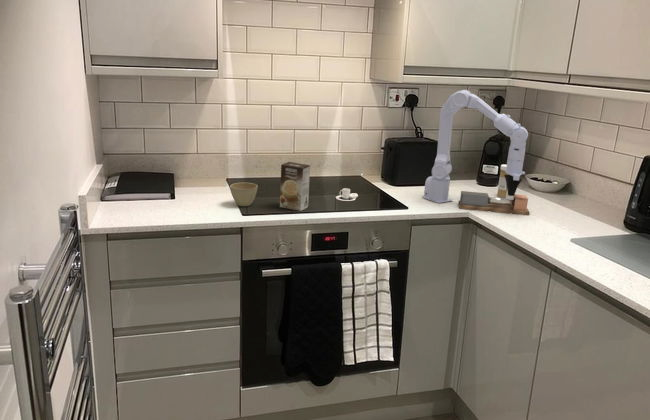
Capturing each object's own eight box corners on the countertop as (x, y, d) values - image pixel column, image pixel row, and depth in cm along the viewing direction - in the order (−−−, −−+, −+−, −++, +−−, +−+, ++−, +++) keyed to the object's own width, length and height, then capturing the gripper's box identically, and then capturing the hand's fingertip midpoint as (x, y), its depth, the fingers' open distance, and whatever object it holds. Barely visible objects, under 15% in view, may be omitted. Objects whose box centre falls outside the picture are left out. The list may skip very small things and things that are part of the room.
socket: (513, 209, 202) (515, 197, 201) (511, 206, 207) (513, 194, 206) (526, 210, 202) (528, 198, 200) (523, 207, 207) (525, 195, 205)
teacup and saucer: (357, 197, 216) (358, 187, 215) (358, 202, 208) (358, 192, 207) (335, 196, 216) (336, 186, 215) (335, 201, 208) (336, 191, 207)
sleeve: (460, 204, 206) (461, 193, 205) (459, 201, 210) (461, 190, 209) (487, 207, 204) (488, 196, 203) (485, 204, 208) (487, 193, 207)
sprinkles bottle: (510, 197, 225) (514, 165, 222) (503, 198, 223) (507, 166, 219) (501, 194, 229) (505, 163, 225) (494, 195, 227) (498, 164, 223)
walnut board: (459, 208, 205) (459, 205, 204) (458, 203, 212) (458, 200, 212) (529, 215, 201) (529, 212, 200) (525, 209, 208) (525, 206, 208)
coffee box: (278, 207, 196) (279, 164, 191) (287, 203, 201) (288, 161, 197) (301, 211, 192) (302, 167, 187) (309, 207, 198) (310, 164, 193)
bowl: (235, 199, 202) (235, 181, 200) (261, 202, 201) (261, 183, 199) (225, 206, 193) (225, 187, 191) (252, 209, 191) (252, 190, 189)
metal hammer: (481, 204, 205) (483, 184, 203) (480, 202, 208) (483, 183, 206) (520, 207, 203) (523, 188, 201) (519, 205, 206) (522, 186, 203)
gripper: (530, 164, 192) (524, 200, 196) (523, 157, 206) (518, 191, 210) (510, 162, 193) (504, 198, 197) (504, 155, 207) (499, 189, 211)
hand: (510, 194), depth 204 cm, fingers closed on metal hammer, 2 cm apart
